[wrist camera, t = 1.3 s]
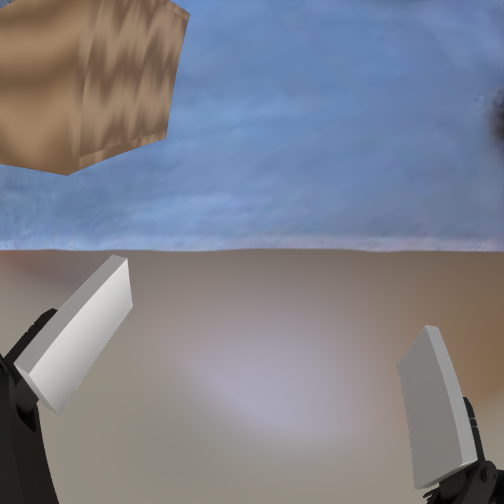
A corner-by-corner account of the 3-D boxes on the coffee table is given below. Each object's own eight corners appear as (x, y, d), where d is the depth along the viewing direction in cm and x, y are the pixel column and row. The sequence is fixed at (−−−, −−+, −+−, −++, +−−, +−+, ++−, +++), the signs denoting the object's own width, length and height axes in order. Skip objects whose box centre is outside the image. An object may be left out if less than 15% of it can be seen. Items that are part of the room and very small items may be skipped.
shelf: (91, 22, 25) (-5, 12, 10) (189, 13, 25) (102, -37, 9) (75, 128, 34) (-21, 160, 18) (165, 138, 33) (67, 175, 18)
